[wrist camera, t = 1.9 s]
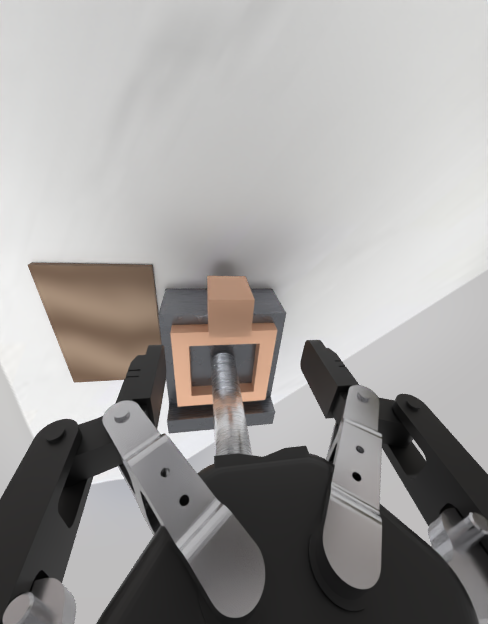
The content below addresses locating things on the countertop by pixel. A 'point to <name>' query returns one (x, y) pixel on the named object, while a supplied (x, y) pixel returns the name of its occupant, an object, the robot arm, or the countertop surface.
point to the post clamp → (219, 371)
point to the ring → (224, 339)
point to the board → (99, 315)
